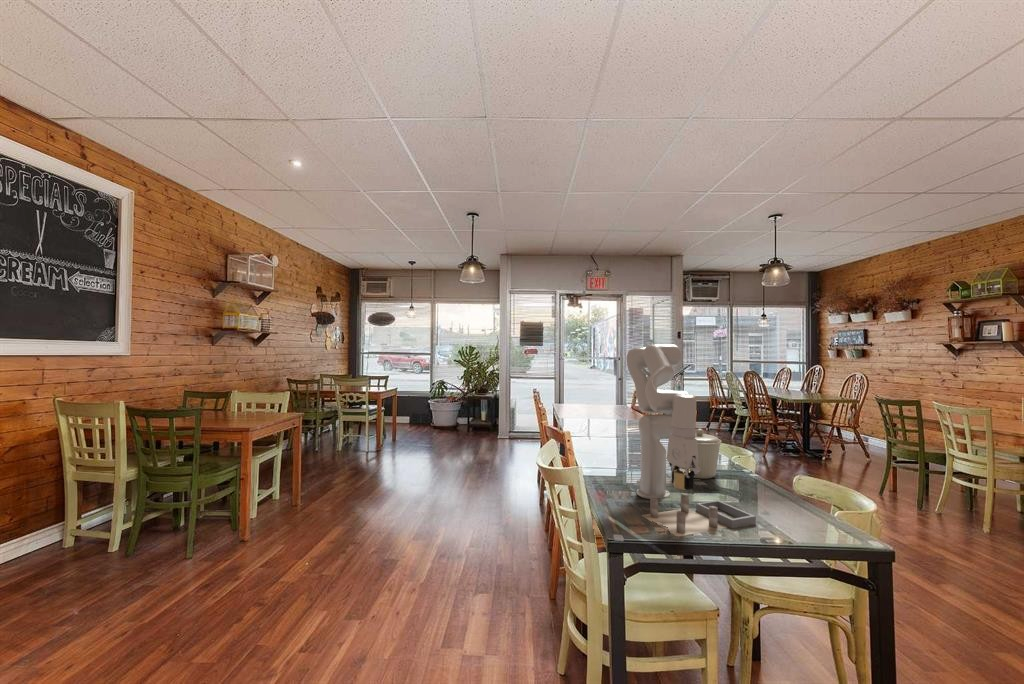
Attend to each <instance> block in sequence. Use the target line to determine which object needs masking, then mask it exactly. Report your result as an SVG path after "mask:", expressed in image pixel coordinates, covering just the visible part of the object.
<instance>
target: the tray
mask: <svg viewBox="0 0 1024 684" xmlns="http://www.w3.org/2000/svg"><path fill="white" fill-rule="evenodd" d="M709 506H715V507H717V508H718V509H719V510H721V511H723V512H725V513H728V514H729V515H732V516H734V517H735V518H731V517H729V516H727V515H726V514H725V515H724V514H723V513H721V512H719V511H718V523H720V524H722V525H724V526H726V527H729V528H731V529H736V528H741V527H746V526H752V525H754V526H756V525H757V524H756V522H757V519H756V518H757V517H756V515H754V514H751V513H749V512H747V511H745V510H743V509H740V508H738V507H735V506H733V505H730V504H728V503H727V502H723V501H721V500H719V499H717V500H716V499H715V500H709V501H703V502H697V503H695V512H697V513H699V514H701V515H703V516H705V517H707V518H709Z"/></svg>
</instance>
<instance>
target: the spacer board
mask: <svg viewBox="0 0 1024 684" xmlns="http://www.w3.org/2000/svg"><path fill="white" fill-rule="evenodd" d="M649 500H650V502H649V505H650V507H649V508H650V510H649V513H647V514H646V513H645V514H642V515H640V516H641V517H643V518H645V519H647V520H648V521H649V522H651V523H653V522H652V521H654V522H660V523H662V524H663V526H666V527H668V529H669V531H670V532H669V533H670V534H672V535H673V534H674V536H675V537H677V536H678V537H677V538H679V537H684V536H690V535H694V534H695V535H696V534H700V533H701V534H702V533H705V532H711V531H716V530H722V529H727V528H728V527H729V526H727V525H725V524H722V523H720V522H718V512H719V511H718V508H717V507H715V506H709V517H708V516H706V515H704V514H702V513H700V512H698V511H696V510H695V511H694V510H693V509H691V508H689V507H690V495H689V493H684V492H683V493H680V508H679V509H673V510H665V511H660V512H659V499H657V498H650V499H649Z"/></svg>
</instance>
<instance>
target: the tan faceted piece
mask: <svg viewBox="0 0 1024 684" xmlns="http://www.w3.org/2000/svg"><path fill="white" fill-rule="evenodd" d="M689 473H690V471H689ZM685 477H686V474H685V470H683V468H680V469H679V470H674V477H673V483H672V484H673V487H674V489H679V490H682V491H687V490H686V489H684V479H685Z"/></svg>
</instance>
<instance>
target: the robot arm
mask: <svg viewBox="0 0 1024 684" xmlns="http://www.w3.org/2000/svg"><path fill="white" fill-rule="evenodd" d="M682 360H683V353H682V351H681V349H680V347H679V346H678V345H676V344H659V343H657V344H651V345H647V346H646V347H634V348H632V349H629V350H628V352H627V354H626V365H627V366H626V367H627V370H628V372H629V375H630V377H631V378H632V382H633V383H634V384H633V385H634V388H635V393H636V399H637V404H638V408H639V410H640V411H641V412H643V413H645V414H644V415H643V416H641V417H640V418H639V420H638V431H639V438H640V478H639V479H637V480H636V483H637V484H638V485H639V488H637V489H636V495H638V496H639V497H640V498H643V499H647V500H650V498H657V499H658V500H662V499H669V498H670V497H671V493H670V491H669V490H667V462H668V464H669V467H670V471H671V483H672V484H673V477H674V470H679V469H682V470H683V469H685V474H686V477H685V479H684V489H686V490H685V491H687V490H692V489H694V477H695V475H696V474H697V473H699V472H700V471H701V470H700V468H699V465H698V447H697V440H696V429H697V423H696V422H697V398H696V396H695V395H692V394H691V393H690V392H688V391H685V390H671V389H659V388H658V387H661V386H662V385H665V384H668V383H669V382H670V381H671V380H673V378H674V377H675V369H674V367H675V368H676V367H678V366H679V365H680V364H681V363H682ZM646 368H647V369H646ZM660 440H668V443H667V450H666V448H665V445H663V443H662V442H661V441H660ZM689 469H690V471H691V472H690V473H689Z"/></svg>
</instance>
